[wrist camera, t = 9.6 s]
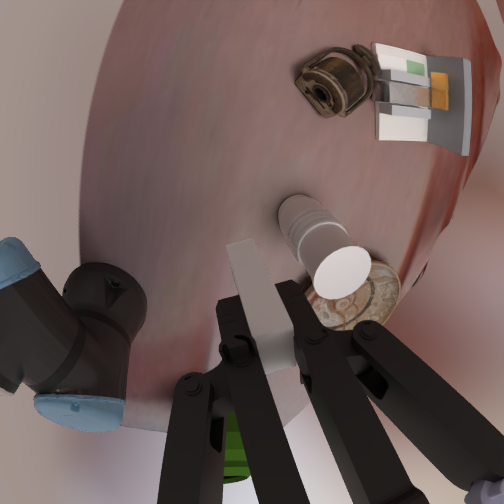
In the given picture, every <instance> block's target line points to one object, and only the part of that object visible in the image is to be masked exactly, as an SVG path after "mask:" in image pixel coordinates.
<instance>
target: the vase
mask: <svg viewBox="0 0 504 504" xmlns="http://www.w3.org/2000/svg"><path fill="white" fill-rule="evenodd" d="M250 475H251V474H250V470H249V466H248V462H247V459H246V455H245V451H244V447H243V443H242V439H241V435H240V431H239V427H238V423H237V419H236V414H235V411H233V412H231V413H230V414H228V415H227V429H226V445H225V462H224V479H223V484H226V483H233V482H238V481H242V480H245V479H247V478H248V477H249V476H250Z"/></svg>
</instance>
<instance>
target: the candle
mask: <svg viewBox="0 0 504 504" xmlns="http://www.w3.org/2000/svg"><path fill="white" fill-rule="evenodd" d="M278 220H279V226H280V229H281V232H282V233H283V234H284V235H285V239H286V241H287V244H288V246H289V247H290V249H291V251H292V253H293V254H294V256H295V258H296V260H297V261H298V262H299V263H300V264H301V265H302V266H303V267H305V268H306V270H307V272H308V274H309V275H310V277H311V279H312V283H313V286H314V289H315V291H316V292H317V293H318V295H320V296H321V297H323V298H326V299H339V298H343V297H345V296H347V295H350V294H351V293H353V292H354V291H356V290H357V289H358V288H359V287H360V286H361V285H362V284H363V283H364V281H365V280H366V278H367V277H368V274H369V272H370V268H371V258H370V256H369V254H368V252H367V251H366V250H365V249H364V248H363V247H361V246H359V245H357V244H356V243H355V242H354V241H353V240H352V238H351V237H350V236H349V235H348V234H347V231H346V229H345V227H344V226H343V225H342V224H341V223H340V222H339V221H338V220H337V219H336V218H335V217H334V216H333V215H332V214H331V213H330V212H329V211H328V210H326V209H324V208H323V206H322V205H321V204H320V203H319V202H318V201H317V200H315V199H313V198H310V197H308V196H306V195H300V194H299V195H293V196H291V197H289V198H288V199H286V200H285V201H284V202H283V203H282V204H281V206H280V208H279V212H278Z"/></svg>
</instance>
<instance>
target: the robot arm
mask: <svg viewBox="0 0 504 504" xmlns="http://www.w3.org/2000/svg"><path fill="white" fill-rule="evenodd" d="M226 249H227V253H228V257H229V261H230V265H231V269H232V273H233V277H234V280H235V284H236V288H237V291H238V295H236V296H232V297H229V298H225V299H221V300H218V303H217V306H216V314H217V319H218V324H219V330H220V335H221V340H222V341H221V343H220V345H219V353H220V355H221V357H222V361H221V362H220V364H219V365H218V366H217V367H215V368H214V369H212V370H211V371H209V372H207V373H205V374H202V373H197V372H193V373H188V374H186V375H184V376H182V377H181V378H180V380H179V381H178V382H177V385H176V388H175V393H174V398H173V404H172V409H171V415H170V420H169V426H168V432H167V438H166V444H165V451H164V457H163V463H162V470H161V477H160V484H159V492H158V500H157V504H222V498H223V479H224V462H225V445H226V429H227V415H228V414H230V413H231V412H233V411H235V414H236V419H237V423H238V427H239V431H240V435H241V439H242V443H243V447H244V451H245V455H246V459H247V462H248V466H249V470H250V474H251V477H252V481H253V484H254V488H255V491H256V495H257V498H258V501H259V504H310V502H309V499H308V496H307V494H306V491H305V488H304V486H303V483H302V480H301V478H300V475H299V472H298V469H297V466H296V463H295V461H294V458H293V455H292V452H291V449H290V446H289V444H288V441H287V438H286V435H285V432H284V429H283V426H282V423H281V420H280V417H279V414H278V411H277V408H276V405H275V402H274V399H273V396H272V393H271V390H270V387H269V384H268V381H267V378H266V374H270V373H273V372H277V371H280V370H283V369H286V368H290V367H293V366H296V361H297V364H298V366H299V368H300V382H301V384H303V383H304V386H305V388H306V391H307V393H308V396H309V398H310V400H311V403H312V405H313V408H314V410H315V412H316V415H317V417H318V420H319V422H320V425H321V427H322V429H323V432H324V434H325V436H326V439H327V441H328V444H329V446H330V449H331V451H332V454H333V456H334V458H335V461H336V463H337V465H338V468H339V471H340V473H341V475H342V478H343V480H344V483H345V485H346V487H347V490H348V492H349V495H350V497H351V499H352V502H353V504H429V502H428V500H427V498H426V496H425V495H424V493H423V492H422V491H421V490H419V489H417V488H416V487H415V486H414V485H413V484H412V483H411V481H410V479H409V477H408V475H407V473H406V471H405V469H404V467H403V465H402V463H401V461H400V459H399V457H398V455H397V453H396V451H395V449H394V447H393V445H392V443H391V441H390V439H389V437H388V435H387V433H386V431H385V429H384V427H383V426H382V424H381V422H380V420H379V418H378V416H377V414H376V412H375V410H374V408H373V406H372V405H371V403H370V401H369V399H368V397H369V398H370V399H371V400H372V401H373V402H374V403H375V404H376V405H377V406H378V408H379V409H380V410H381V411H382V412H383V413H384V414H385V415H386V416H387V417H388V418H389V419H390V420H391V421H392V422H393V423H394V424H395V425H396V426H397V427H398V429H399V430H400V431H401V432H402V433H403V434H404V435H405V436H406V437H407V438H408V439H409V440H410V441H411V442H412V443H413V444H414V445H415V446H416V447H417V448H418V449H419V450H420V451H421V453H422V454H423V455H424V456H425V457H426V458H427V459H428V460H429V461H430V462H431V463H432V464H433V465H434V466H435V467H436V468H437V469H438V470H439V471H440V472H441V473H442V474H443V475H444V476H445V477H446V478H447V479H448V480H449V481H450V482H452V483H453V484H454V485H456V486H457V487H459V488H460V489H463V490H465V491H468V494H467V495H466V496H465V499H464V501H465V503H466V504H504V436H503V435H502V434H501V433H500V432H499V431H498V430H497V429H496V428H495V427H494V426H493V425H492V424H491V423H490V422H489V421H488V420H487V419H486V418H485V417H484V416H483V415H482V414H481V413H480V412H478V410H476V409H475V408H474V407H473V406H472V405H471V404H470V403H469V402H468V401H467V400H466V399H465V398H464V397H462V396H461V395H460V394H459V393H458V392H457V391H456V390H455V389H454V388H453V387H451V385H449V384H448V383H447V382H446V381H445V380H444V379H443V378H442V377H441V376H439V375H438V374H437V373H436V372H435V371H434V370H433V369H432V368H431V367H429V366H428V365H427V364H426V363H425V362H424V361H422V359H420V358H419V357H418V356H417V355H416V354H415V353H413V352H412V351H411V350H410V349H409V348H408V347H407V346H406V345H404V344H403V343H402V342H401V341H400V340H399V339H397V338H396V337H395V336H394V335H393V334H392V333H391V332H389V331H388V330H387V329H386V328H385V327H383V326H382V325H381V324H380V323H378V322H376V321H373V320H363V321H360V322H358V323H357V324H356V325H355V326H354V328H353V330H332V329H329V328H327V327H326V326H324V325H323V324H322V323H321V322H320V320H319V318H318V317H317V315H316V313H315V311H314V310H313V308H312V306H311V304H310V303H309V301H308V300H307V297H306V296H305V294H304V292H303V290H302V289H301V287H300V285H299V284H297V283H296V282H294V281H293V280H288V281H284V282H281V283H277V284H274V283H273V281H272V279H271V276H270V274H269V272H268V270H267V268H266V266H265V264H264V261H263V259H262V257H261V255H260V253H259V251H258V249H257V246H256V244H255V242H254V240H253V238H249V239H245V240H241V241H237V242H233V243H230V244H226ZM40 267H41V265H40V263H39V262H37V261H36V260H34V258H33V257H32V255H31V254H30V252H29V251H28V250H27V248H26V247H25V245H24V244H23V243H22V241H20V240H19V239H17V238H15V237H8V238H5V239H3V240H1V241H0V396H12V395H14V393H15V392H16V390H17V389H18V387H19V385H20V384H21V383H22V382H23V383H25V384H26V385H27V386H28V387H30V388H31V389H32V390H33V391H35V393H36V395H35V396H34V399H33V400H34V407H35V409H36V410H37V411H38V413H39V414H41V415H42V416H44V417H45V418H47V419H49V420H51V421H53V422H55V423H57V424H60V425H63V426H66V427H69V428H72V429H77V430H82V431H88V432H108V431H112V430H115V429H117V428H118V427H119V426H120V424H121V423H122V419H123V411H124V406H125V405H126V401H125V398H126V385H127V373H128V363H129V354H130V347H131V343H132V342H133V340H134V338H135V336H136V335H137V333H138V331H139V330H140V328H141V327H142V326H143V324H144V321H145V318H146V311H147V300H146V296H145V294H144V291H143V290H142V288H141V287H140V285H139V284H138V283H137V282H136V280H135V279H134V278H132V277H131V276H130V275H129V274H127V273H126V272H124V271H123V270H121V269H119V268H116V267H114V266H111V265H108V264H103V263H89V264H84V265H82V266H79V267H78V268H76V269H75V270H74V271H73V272H72V273H71V274H70V275H69V278H68V279H67V281H66V283H65V285H64V288H63V296H61V295H60V294H59V293H58V291H57V290H56V288H55V287H54V286H53V285H52V283H51V282H50V280H49V279H48V278H47V276H46V275H45V273H44V272H43V271H42V269H41V268H40ZM367 396H368V397H367Z"/></svg>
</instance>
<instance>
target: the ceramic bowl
mask: <svg viewBox="0 0 504 504" xmlns="http://www.w3.org/2000/svg"><path fill="white" fill-rule="evenodd" d="M400 289H401V284H400V280H399V277H398V275H397V273H396V272H395V270H394V269H393V268H392V267H391V266H389V265H388V264H386V263H384V262H382V261H378V260H373V259H371V268H370V272H369V274H368V277H367V278H366V280H365V281H364V283H363V284H362V285H361V286H360V287H359V288H358V289H357V290H356V291H354V292H353V293H351V294H350V295H347V296H345V297H343V298H339V299H326V298H323V297H321V296H320V295H318V293H317V292H316V291H315V289H314V286H313V284H312V285H311V286H310V287H309V288H308V290H307V291H306V292H305V293H304V294H305V296H306V297H307V300H308V301H309V303H310V304H311V306H312V308H313V310H314V311H315V313H316V315H317V317H318V318H319V320H320V322H321V323H322V324H323V325H324V326H326V327H327V328H329V329H332V330H353V328H354V326H355V325H356V324H357V323H358V322H360V321H363V320H373V321H376V322H378V323H380V324H381V325H383V324H384V323H385V322H386V321H387V320H388V318H389V317H390V316H391V314H392V312H393V311H394V309H395V307H396V305H397V303H398V300H399V297H400Z"/></svg>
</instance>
